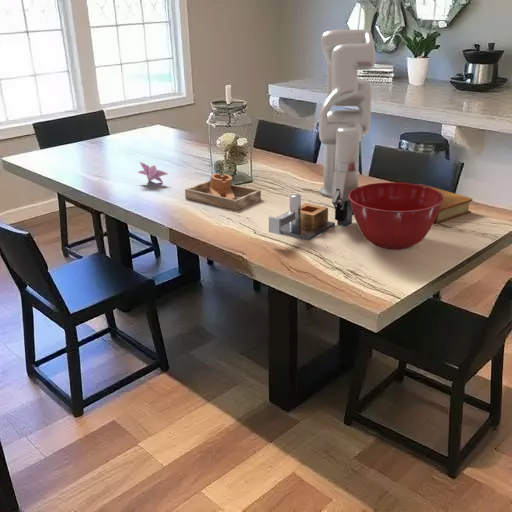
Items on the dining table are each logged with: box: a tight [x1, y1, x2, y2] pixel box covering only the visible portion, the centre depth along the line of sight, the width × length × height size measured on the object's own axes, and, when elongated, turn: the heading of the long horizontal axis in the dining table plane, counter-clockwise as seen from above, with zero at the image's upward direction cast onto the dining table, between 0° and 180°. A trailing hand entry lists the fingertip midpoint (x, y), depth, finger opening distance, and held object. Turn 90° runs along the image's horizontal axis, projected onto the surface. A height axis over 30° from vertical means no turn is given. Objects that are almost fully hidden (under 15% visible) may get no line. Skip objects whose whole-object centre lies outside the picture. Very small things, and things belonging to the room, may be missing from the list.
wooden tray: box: [184, 179, 262, 211], centre depth 239 cm, size 15×25×4 cm, turn 53°
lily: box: [137, 161, 168, 188], centre depth 257 cm, size 12×12×10 cm
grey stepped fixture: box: [268, 193, 336, 242], centre depth 203 cm, size 25×14×13 cm, turn 143°
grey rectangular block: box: [336, 198, 353, 228], centre depth 210 cm, size 4×4×11 cm
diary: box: [416, 183, 473, 225], centre depth 223 cm, size 23×19×6 cm
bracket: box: [208, 173, 236, 206], centre depth 238 cm, size 18×8×7 cm, turn 10°
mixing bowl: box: [348, 182, 444, 251], centre depth 194 cm, size 28×28×15 cm
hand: (344, 216), depth 211 cm, fingers open, 6 cm apart
